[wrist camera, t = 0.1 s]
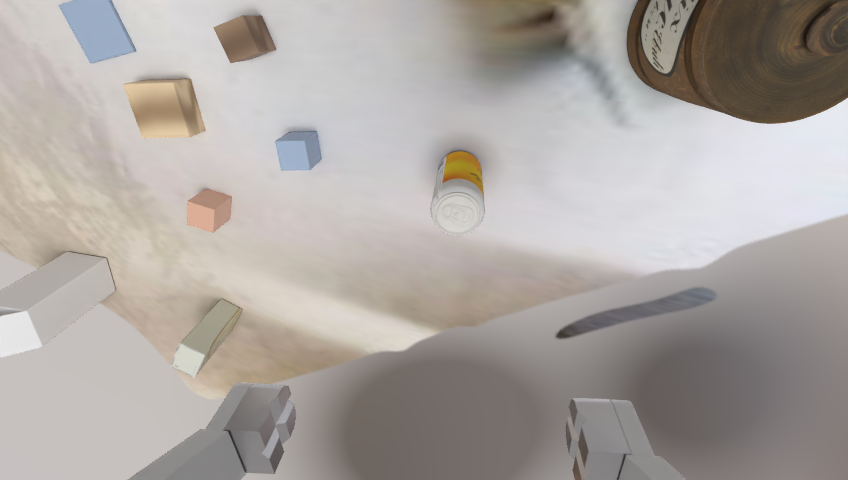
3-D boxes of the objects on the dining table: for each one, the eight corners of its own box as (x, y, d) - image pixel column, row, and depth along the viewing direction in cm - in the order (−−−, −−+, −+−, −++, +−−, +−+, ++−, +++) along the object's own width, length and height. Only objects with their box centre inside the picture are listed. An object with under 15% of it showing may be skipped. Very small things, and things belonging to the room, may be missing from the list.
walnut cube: (234, 26, 52) (213, 27, 48) (261, 15, 51) (242, 15, 47) (250, 59, 54) (230, 63, 49) (276, 49, 53) (259, 52, 48)
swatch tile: (61, 5, 53) (58, 5, 52) (106, -9, 51) (103, -9, 51) (93, 63, 56) (90, 63, 55) (136, 51, 55) (133, 51, 54)
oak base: (144, 79, 57) (122, 84, 53) (191, 78, 56) (172, 82, 52) (161, 130, 60) (142, 137, 56) (206, 130, 59) (190, 137, 56)
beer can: (472, 196, 60) (472, 246, 47) (432, 182, 59) (422, 229, 46) (488, 158, 57) (493, 200, 44) (446, 143, 56) (440, 181, 43)
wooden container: (695, -83, 43) (882, -165, 23) (798, -3, 45) (1043, -17, 26) (598, 52, 49) (681, 75, 30) (691, 116, 52) (823, 174, 33)
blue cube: (289, 131, 58) (275, 141, 54) (316, 131, 57) (304, 140, 53) (295, 159, 60) (281, 170, 55) (321, 158, 59) (309, 170, 55)
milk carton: (107, 257, 72) (-2, 329, 55) (116, 289, 75) (17, 366, 59) (68, 250, 72) (-53, 320, 55) (79, 283, 75) (-31, 358, 59)
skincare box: (232, 329, 77) (195, 379, 67) (210, 318, 77) (169, 367, 66) (243, 308, 74) (205, 356, 64) (220, 296, 74) (178, 343, 63)
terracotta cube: (206, 188, 63) (187, 201, 59) (232, 196, 64) (214, 209, 59) (205, 210, 65) (187, 224, 61) (230, 218, 66) (213, 232, 61)
